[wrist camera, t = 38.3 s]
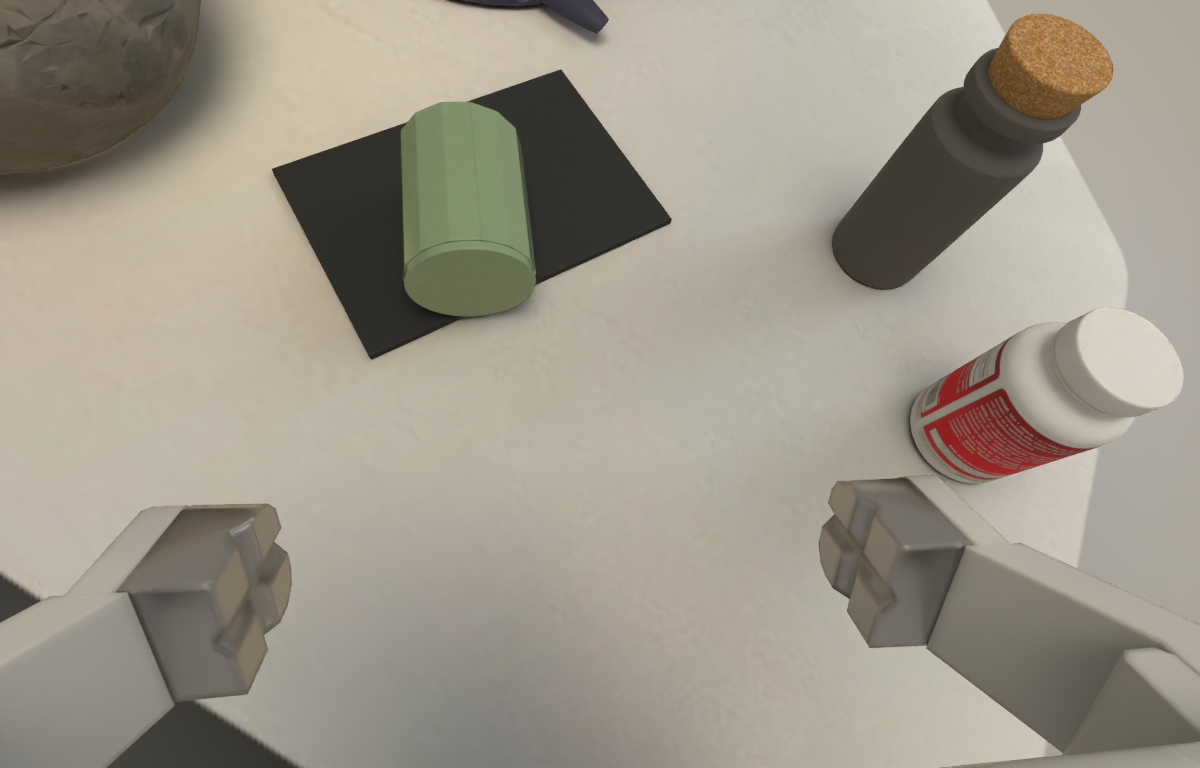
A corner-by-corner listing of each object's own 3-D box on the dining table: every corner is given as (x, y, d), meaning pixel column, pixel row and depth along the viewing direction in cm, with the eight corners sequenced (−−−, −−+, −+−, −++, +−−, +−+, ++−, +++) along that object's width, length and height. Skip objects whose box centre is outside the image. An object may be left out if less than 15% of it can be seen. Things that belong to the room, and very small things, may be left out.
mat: (371, 359, 33) (369, 356, 32) (273, 173, 36) (271, 168, 36) (670, 223, 38) (672, 219, 38) (560, 73, 42) (561, 69, 42)
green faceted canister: (451, 231, 27) (442, 79, 30) (378, 297, 31) (377, 157, 34) (562, 275, 31) (544, 138, 34) (486, 327, 35) (476, 201, 39)
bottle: (881, 306, 38) (1086, 125, 24) (813, 244, 39) (971, 36, 25) (933, 258, 40) (1151, 64, 26) (867, 200, 41) (1041, -15, 27)
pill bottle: (1015, 490, 34) (1222, 433, 24) (913, 480, 34) (1081, 418, 24) (995, 389, 37) (1176, 298, 26) (899, 379, 36) (1046, 282, 26)
